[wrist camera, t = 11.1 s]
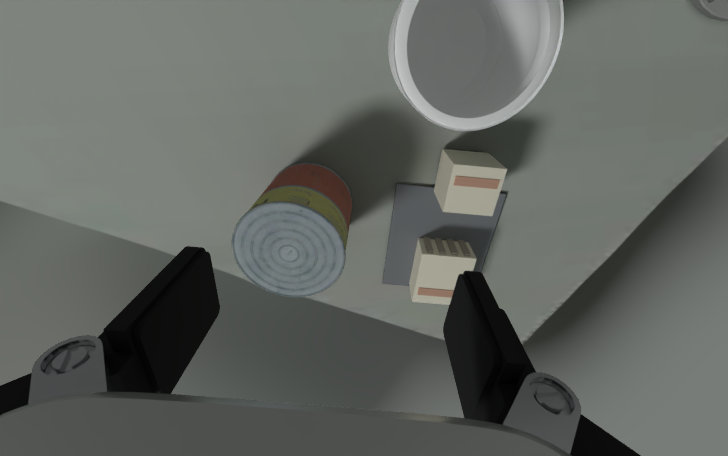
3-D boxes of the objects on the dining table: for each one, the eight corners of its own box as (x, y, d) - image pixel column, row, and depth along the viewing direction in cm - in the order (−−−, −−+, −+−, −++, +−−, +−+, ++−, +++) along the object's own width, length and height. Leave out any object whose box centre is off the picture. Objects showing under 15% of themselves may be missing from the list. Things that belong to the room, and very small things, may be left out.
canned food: (266, 157, 38) (225, 195, 28) (356, 167, 39) (350, 209, 28) (269, 235, 44) (236, 291, 33) (348, 244, 44) (341, 302, 34)
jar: (503, 62, 33) (590, 66, 20) (419, 122, 36) (445, 160, 23) (454, -43, 29) (522, -125, 16) (365, 36, 32) (358, 22, 19)
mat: (505, 193, 40) (506, 194, 39) (473, 289, 47) (474, 291, 47) (396, 183, 40) (396, 184, 39) (382, 281, 47) (382, 283, 47)
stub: (488, 153, 37) (507, 169, 31) (476, 195, 39) (492, 216, 34) (442, 148, 37) (454, 164, 31) (433, 191, 39) (442, 212, 34)
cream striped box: (468, 240, 43) (477, 257, 39) (455, 287, 47) (461, 306, 43) (418, 236, 43) (422, 252, 39) (409, 283, 47) (412, 302, 43)
